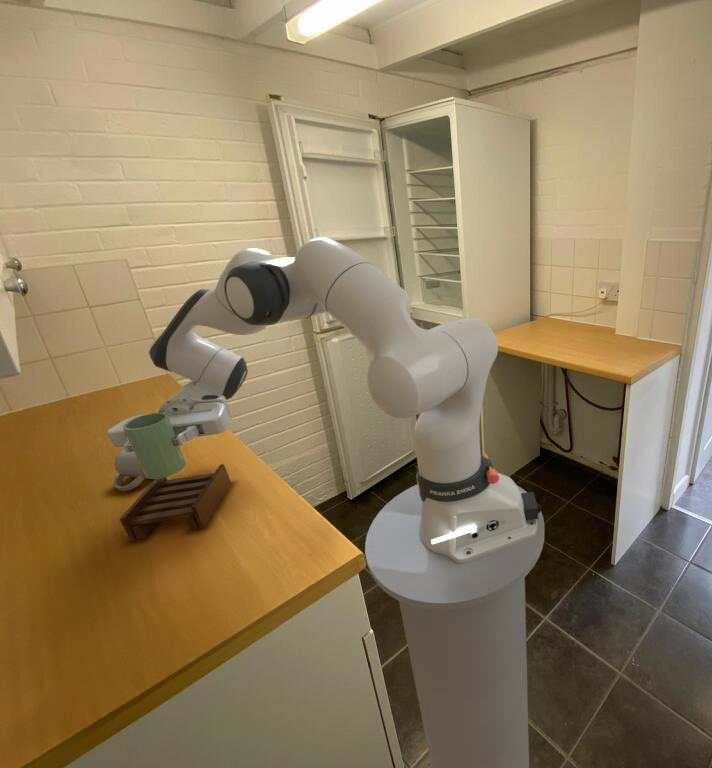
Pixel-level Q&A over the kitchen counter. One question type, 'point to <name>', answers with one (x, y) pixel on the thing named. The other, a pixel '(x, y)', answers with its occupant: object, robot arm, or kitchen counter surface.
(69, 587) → the kitchen counter surface
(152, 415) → the tumbler
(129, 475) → the ceramic mug
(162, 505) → the rack
